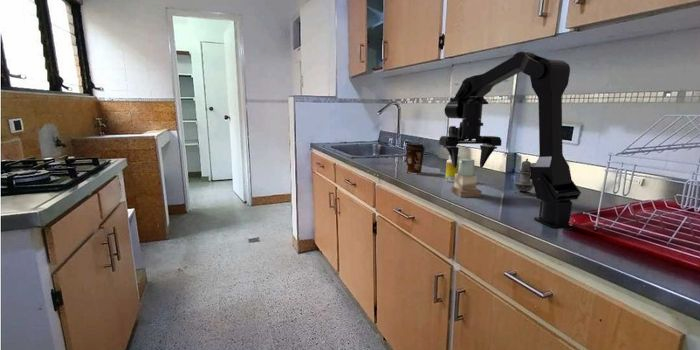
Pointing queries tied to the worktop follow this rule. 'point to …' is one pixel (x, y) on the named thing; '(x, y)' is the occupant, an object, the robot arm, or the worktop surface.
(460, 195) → the slab
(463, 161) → the pale green rounded block
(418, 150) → the coffee cup
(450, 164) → the supplement bottle
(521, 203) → the worktop surface
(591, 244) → the worktop surface
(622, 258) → the worktop surface
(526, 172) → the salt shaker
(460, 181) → the cube
